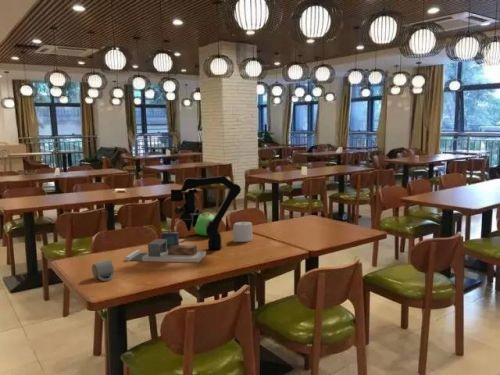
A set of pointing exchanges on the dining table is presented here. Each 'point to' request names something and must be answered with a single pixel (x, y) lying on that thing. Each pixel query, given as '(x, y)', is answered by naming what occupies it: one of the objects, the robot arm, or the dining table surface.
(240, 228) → the toilet tissue
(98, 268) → the ceramic mug
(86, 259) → the dining table surface
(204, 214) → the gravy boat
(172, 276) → the dining table surface
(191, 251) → the walnut bar
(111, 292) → the dining table surface
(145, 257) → the platform
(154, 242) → the tunnel
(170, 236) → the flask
